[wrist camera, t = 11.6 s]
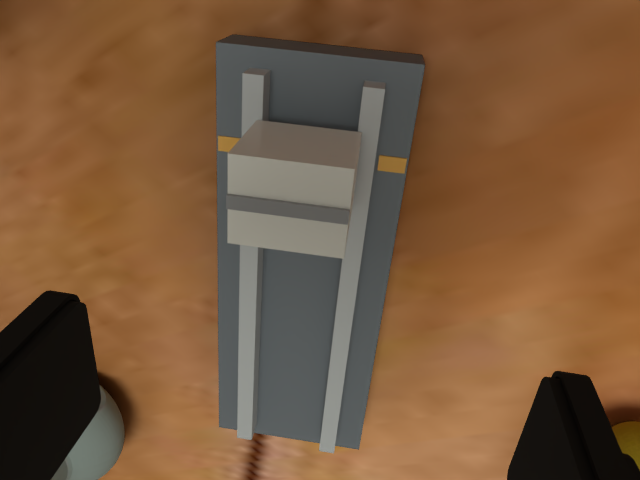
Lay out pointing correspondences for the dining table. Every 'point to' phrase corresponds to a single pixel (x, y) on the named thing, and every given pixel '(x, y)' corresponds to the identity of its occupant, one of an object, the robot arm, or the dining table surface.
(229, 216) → the fader cap
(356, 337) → the slider panel
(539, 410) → the robot arm
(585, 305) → the dining table surface
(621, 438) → the lemon
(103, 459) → the air freshener
